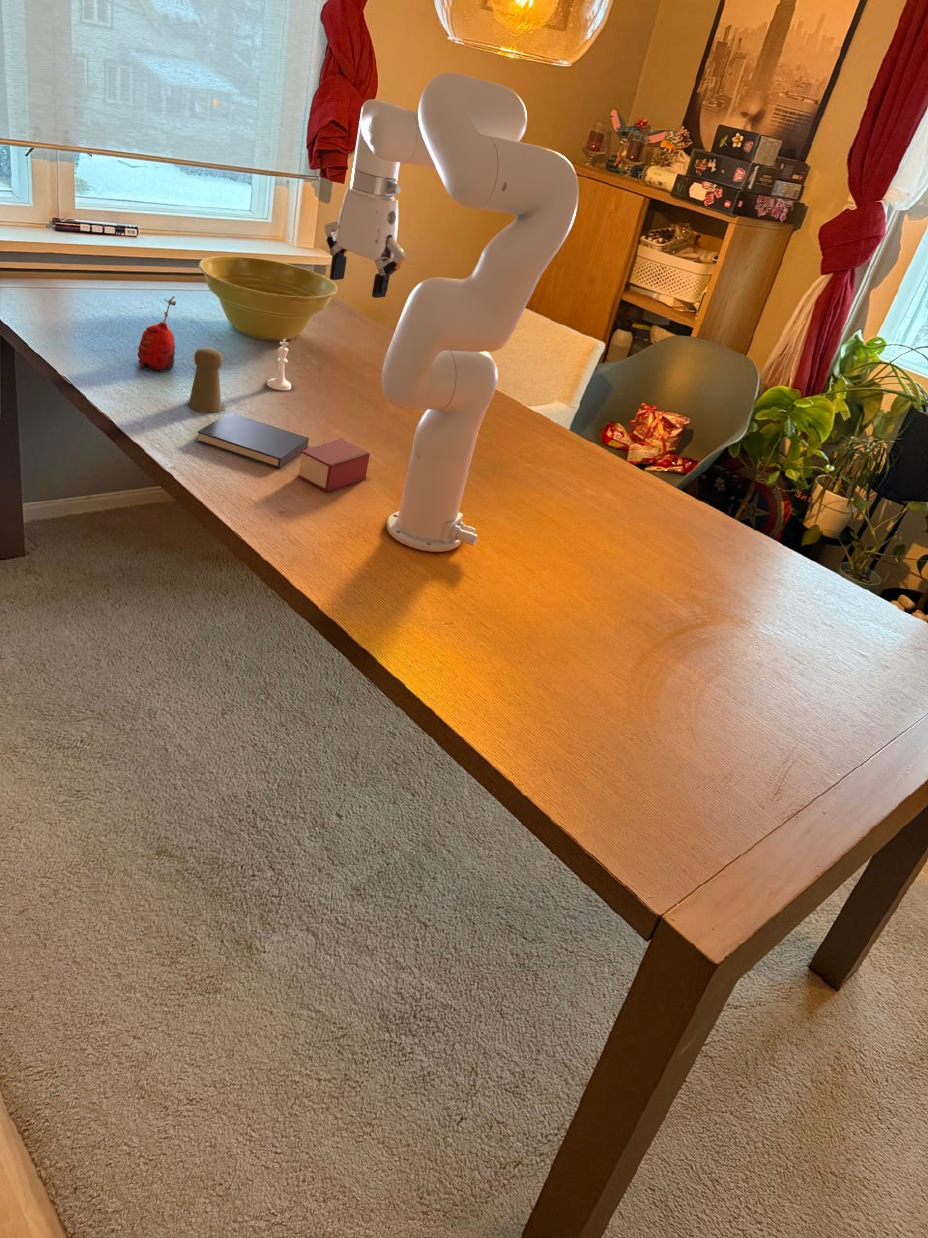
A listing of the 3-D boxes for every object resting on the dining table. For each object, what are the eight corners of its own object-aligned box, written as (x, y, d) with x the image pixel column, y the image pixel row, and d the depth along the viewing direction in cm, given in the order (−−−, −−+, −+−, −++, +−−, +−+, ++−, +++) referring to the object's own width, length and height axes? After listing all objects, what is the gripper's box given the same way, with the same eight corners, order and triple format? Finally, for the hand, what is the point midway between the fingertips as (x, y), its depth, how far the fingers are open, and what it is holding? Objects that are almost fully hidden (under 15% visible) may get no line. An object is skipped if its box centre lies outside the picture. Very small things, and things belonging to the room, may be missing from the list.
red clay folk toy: (147, 358, 190) (149, 284, 182) (180, 366, 190) (184, 293, 182) (132, 368, 183) (134, 292, 175) (166, 376, 183) (170, 301, 176)
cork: (213, 414, 173) (217, 358, 167) (183, 406, 173) (186, 349, 167) (226, 405, 178) (231, 350, 172) (197, 397, 178) (201, 341, 172)
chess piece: (293, 391, 192) (299, 344, 187) (269, 389, 190) (275, 342, 185) (288, 382, 196) (293, 336, 191) (265, 380, 194) (270, 334, 189)
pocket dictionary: (365, 478, 164) (370, 453, 161) (327, 492, 156) (331, 465, 153) (336, 463, 167) (340, 438, 164) (297, 476, 159) (301, 450, 156)
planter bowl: (170, 308, 220) (173, 251, 213) (284, 308, 241) (290, 256, 234) (239, 357, 202) (245, 296, 195) (356, 353, 223) (365, 297, 216)
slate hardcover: (307, 447, 170) (309, 437, 169) (279, 468, 160) (280, 458, 158) (229, 422, 172) (230, 412, 170) (196, 441, 161) (197, 431, 160)
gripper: (427, 199, 153) (408, 302, 162) (348, 171, 159) (334, 271, 168) (400, 199, 147) (382, 305, 156) (319, 169, 153) (306, 273, 162)
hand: (357, 287), depth 162 cm, fingers open, 9 cm apart
